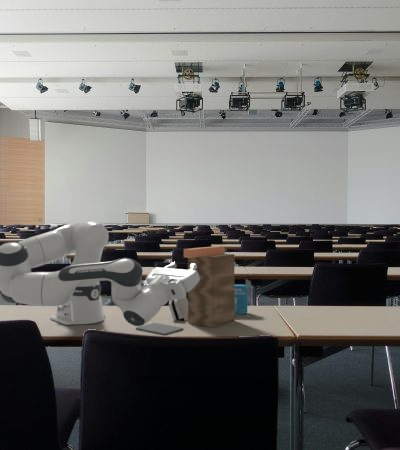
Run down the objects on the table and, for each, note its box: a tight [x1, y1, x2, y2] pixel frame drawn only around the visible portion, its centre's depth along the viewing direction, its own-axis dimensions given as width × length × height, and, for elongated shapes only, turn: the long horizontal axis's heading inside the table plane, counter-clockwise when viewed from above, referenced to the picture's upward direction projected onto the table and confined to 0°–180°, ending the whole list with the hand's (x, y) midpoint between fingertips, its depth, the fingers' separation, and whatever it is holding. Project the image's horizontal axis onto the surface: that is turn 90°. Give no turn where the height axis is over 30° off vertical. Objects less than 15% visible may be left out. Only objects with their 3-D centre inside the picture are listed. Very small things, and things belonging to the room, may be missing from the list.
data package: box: [234, 283, 248, 316], centre depth 195 cm, size 12×4×12 cm, turn 84°
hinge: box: [168, 296, 188, 322], centre depth 190 cm, size 17×5×10 cm, turn 168°
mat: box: [135, 322, 184, 336], centre depth 168 cm, size 14×10×1 cm
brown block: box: [187, 253, 236, 328], centre depth 180 cm, size 12×14×26 cm
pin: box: [183, 245, 226, 259], centre depth 176 cm, size 3×22×3 cm, turn 142°
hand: (184, 264), depth 165 cm, fingers open, 8 cm apart
